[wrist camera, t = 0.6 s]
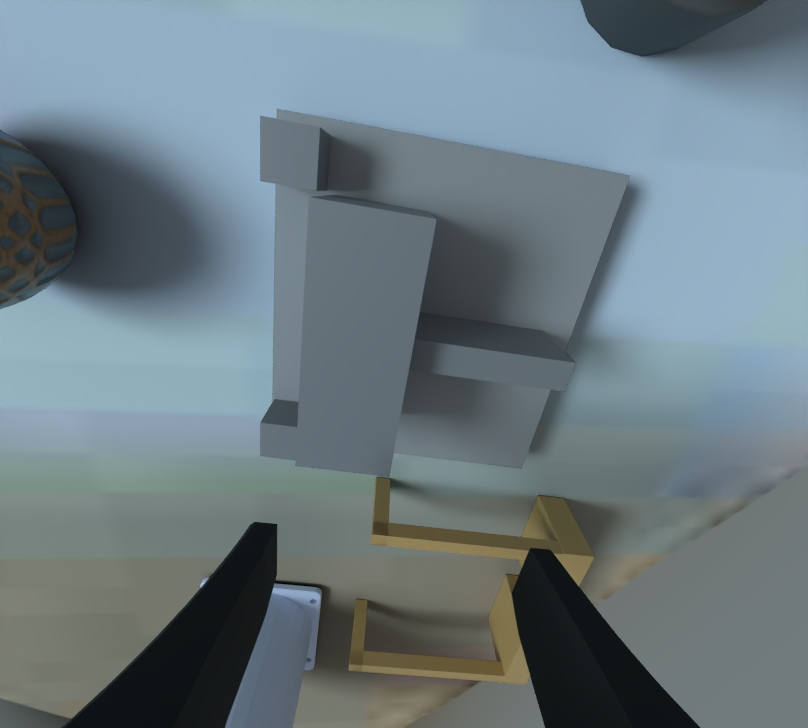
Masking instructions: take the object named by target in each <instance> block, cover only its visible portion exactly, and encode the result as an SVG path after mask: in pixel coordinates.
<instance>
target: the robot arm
mask: <svg viewBox="0 0 808 728" xmlns="http://www.w3.org/2000/svg"><path fill="white" fill-rule="evenodd" d="M276 575H277V524H271V523H260V522H254V523H252V524H251V525H250V526H249V528H248V529H247V530H246V532H245V533H244V535H243V536H242V537H241V539H240V540H239V541H238V543H237V544H236V545H235V547H234V548H233V549H232V550H231V552H230V553H229V554H228V556H227V557H226V558H225V559H224V561H223V562H222V563H221V564H220V566H219V567H218V568H217V569H216V571H215V572H214V573H213V574H212V575H211V576H210V577H207V578H204V579H203V581H202V583H201V585H200V589H199V591H198V592H197V593H196V594H195V595H194V597H193V598H192V599H191V600H190V601H189V602H188V603H187V604H186V606H185V607H184V608H183V609H182V610H181V611H180V612H179V613H178V614H177V615H176V616H175V617H174V619H173V620H172V621H171V622H170V623H169V624H168V625H167V626H166V627H165V628H164V629H163V630H162V632H161V633H160V634H159V635H158V636H157V637H156V638H155V639H154V640H153V641H152V642H151V643H150V644H149V645H148V646H147V647H146V648H145V649H144V650H143V651H142V652H141V653H140V654H139V655H138V656H137V657H136V658H135V659H134V660H133V661H132V662H131V663H130V664H129V665H128V666H127V667H126V668H125V669H124V670H123V671H122V672H121V673H120V674H119V675H118V676H117V677H116V678H115V679H114V680H113V681H112V682H111V683H110V684H109V685H108V686H107V687H106V688H104V689H103V690H102V691H101V692H100V693H99V694H98V695H97V696H96V697H95V698H94V699H93V700H91V701H90V702H89V703H88V704H87V705H86V706H85V707H84V708H83V709H82V710H81V711H80V712H78V713H77V714H76V715H75V716H74V717H73V718H72V719H71V720H70V721H69V722H68V723H66V724H65V725H64V726H63V727H62V728H293V723H294V718H295V713H296V708H297V703H298V698H299V693H300V688H301V683H302V678H303V673H304V670H306V671H309V670H312V669H313V668H314V664H315V656H316V646H317V637H318V628H319V618H320V609H321V599H322V591H321V589H319V588H317V587H309V586H298V585H287V584H276V583H275V579H276ZM512 600H513V606H514V612H515V618H516V623H517V629H518V634H519V638H520V641H521V645H522V649H523V652H524V656H525V659H526V663H527V666H528V670H529V673H530V677H531V680H532V684H533V687H534V690H535V694H536V697H537V701H538V704H539V708H540V711H541V715H542V717H543V721H544V725H545V728H700V727H699V726H698V725H697V724H696V723H695V722H694V721H693V720H692V718H691V717H690V716H689V715H688V714H687V713H686V712H685V711H684V710H683V709H682V708H681V707H680V706H679V705H678V704H677V703H676V702H675V701H674V700H673V698H672V697H671V696H670V695H669V694H668V693H667V692H666V691H665V690H664V689H663V688H662V687H661V686H660V684H659V683H658V682H657V681H656V680H655V679H654V678H653V677H652V675H651V674H650V673H649V672H648V671H647V670H646V668H645V667H644V666H643V665H642V664H641V663H640V662H639V660H638V659H637V658H636V657H635V656H634V655H633V653H632V652H631V651H630V650H629V649H628V648H627V646H626V645H625V644H624V643H623V642H622V640H621V639H620V638H619V637H618V636H617V634H616V633H615V632H614V631H613V630H612V629H611V627H610V626H609V624H608V623H607V622H606V621H605V619H604V618H603V617H602V616H601V614H600V613H599V612H598V611H597V609H596V608H595V607H594V606H593V604H592V603H591V602H590V600H589V599H588V598H587V597H586V595H585V594H584V593H583V591H582V590H581V589H580V587H579V586H578V585H577V584H576V582H575V581H574V580H573V578H572V577H571V576H570V574H569V573H568V572H567V570H566V569H565V568H564V566H563V565H562V564H561V562H560V561H559V560H558V559H557V557H556V556H555V555H554V553H553V552H552V551H551V550H550V549H540V548H530V549H529V552H528V554H527V556H526V559H525V561H524V564H523V566H522V569H521V571H520V574H519V576H518V579H517V581H516V584H515V586H514V589H513V591H512Z"/></svg>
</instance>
